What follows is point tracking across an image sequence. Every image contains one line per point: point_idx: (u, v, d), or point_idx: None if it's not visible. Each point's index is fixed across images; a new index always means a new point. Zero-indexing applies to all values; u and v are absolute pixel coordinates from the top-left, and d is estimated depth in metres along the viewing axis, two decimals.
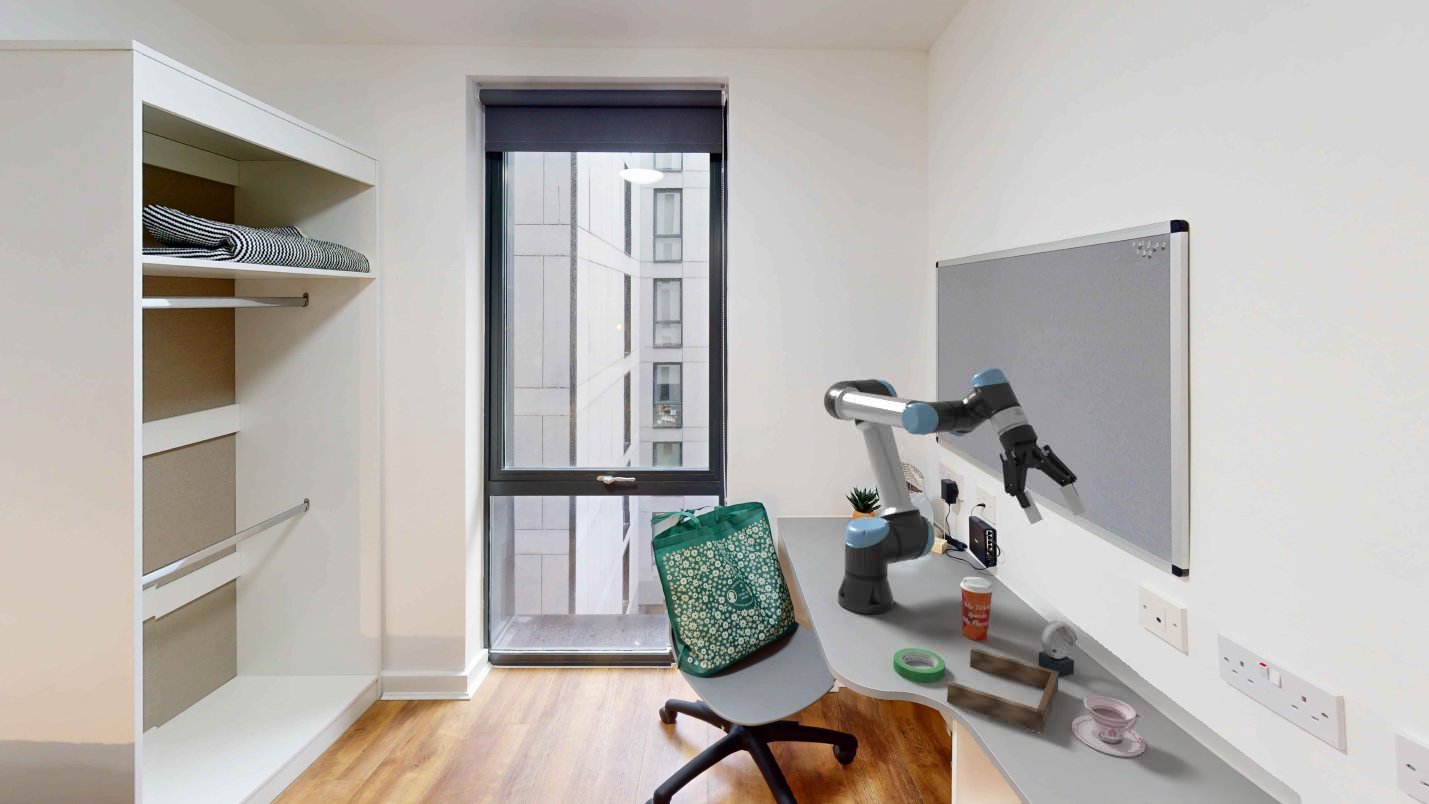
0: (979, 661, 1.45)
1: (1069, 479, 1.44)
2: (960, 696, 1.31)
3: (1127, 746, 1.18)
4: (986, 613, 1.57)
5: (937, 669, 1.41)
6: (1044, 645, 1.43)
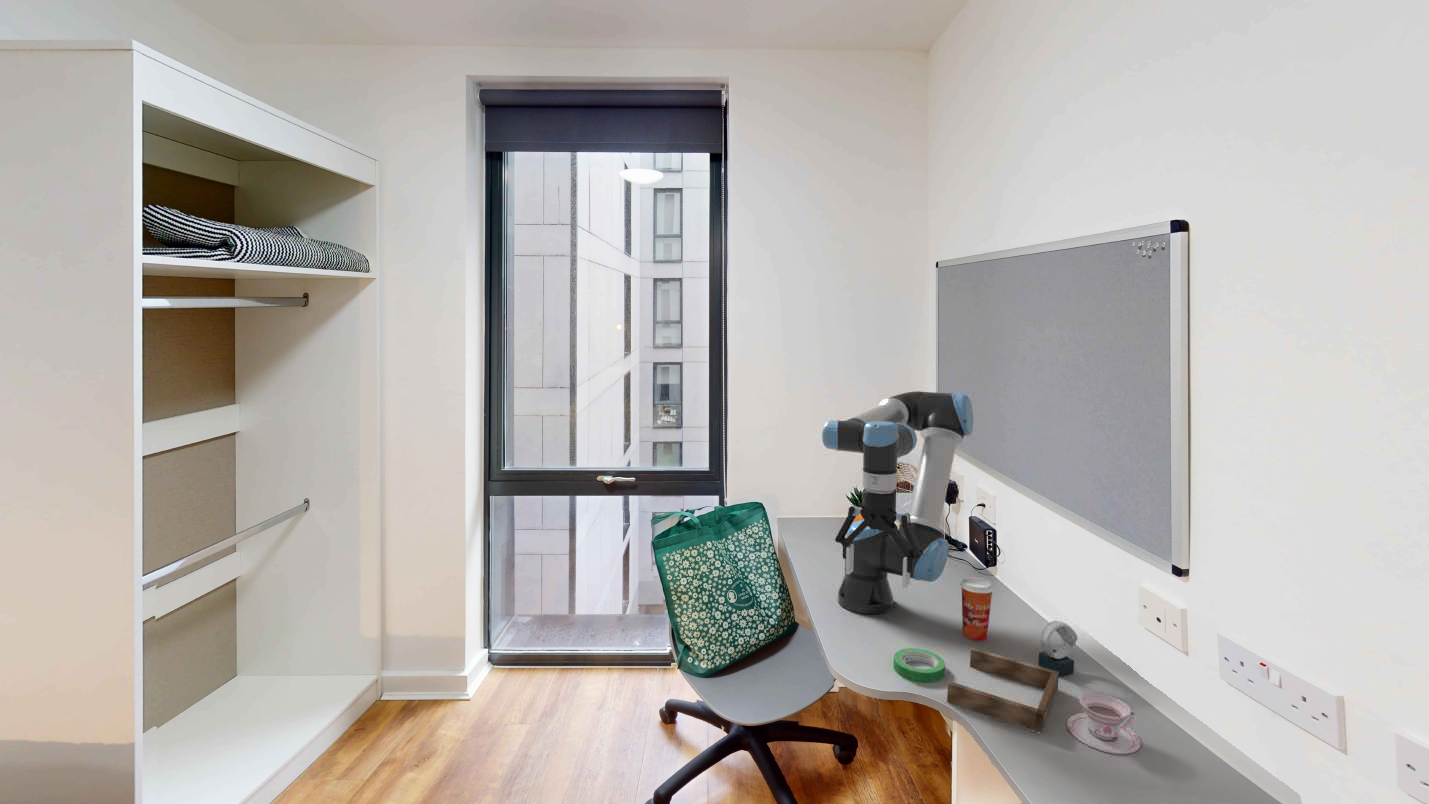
0: (979, 661, 1.45)
1: (908, 555, 1.43)
2: (960, 696, 1.31)
3: (1122, 743, 1.19)
4: (986, 613, 1.57)
5: (937, 669, 1.41)
6: (1044, 645, 1.43)
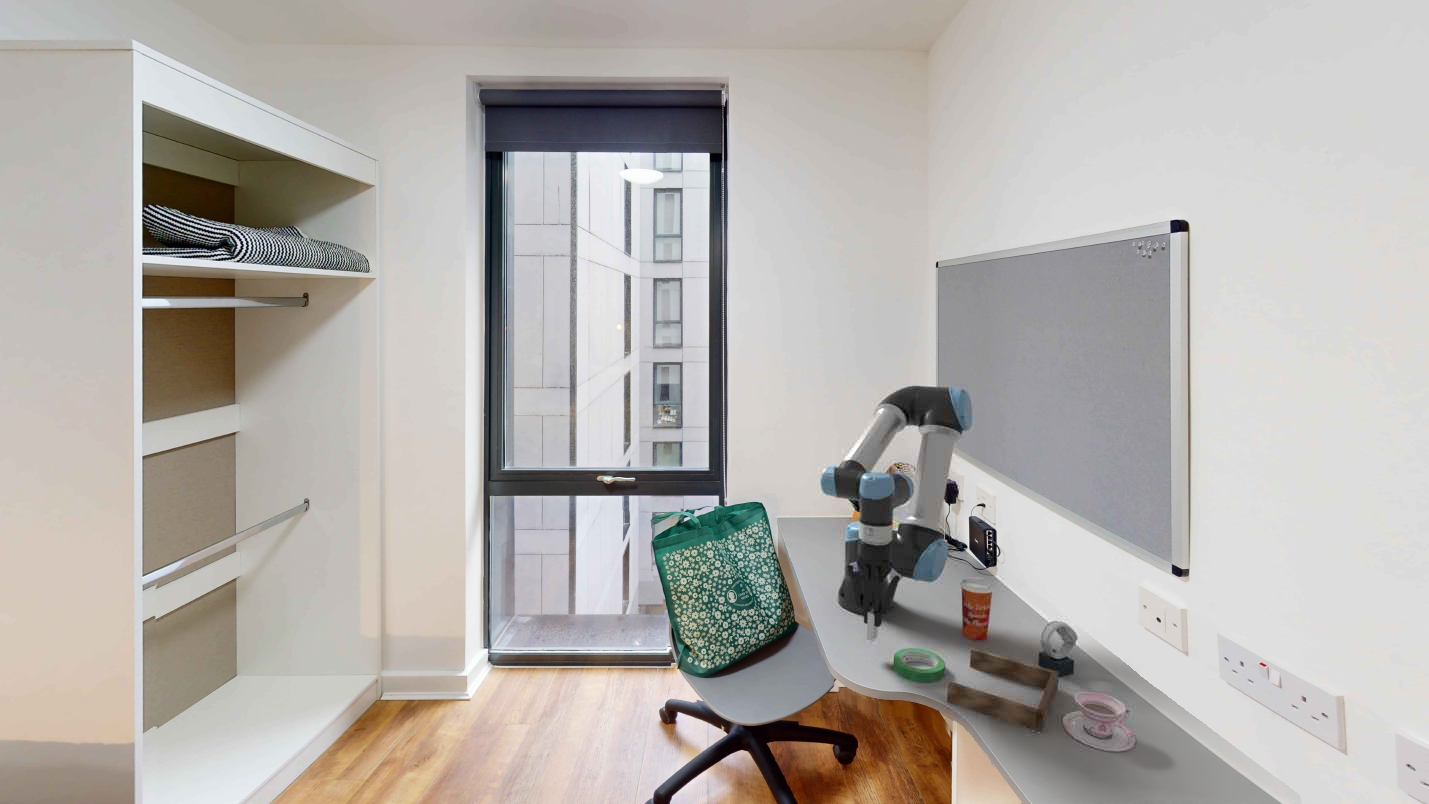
0: (979, 661, 1.45)
1: (876, 609, 1.48)
2: (960, 696, 1.31)
3: (1117, 740, 1.20)
4: (986, 613, 1.57)
5: (937, 669, 1.41)
6: (1044, 645, 1.43)
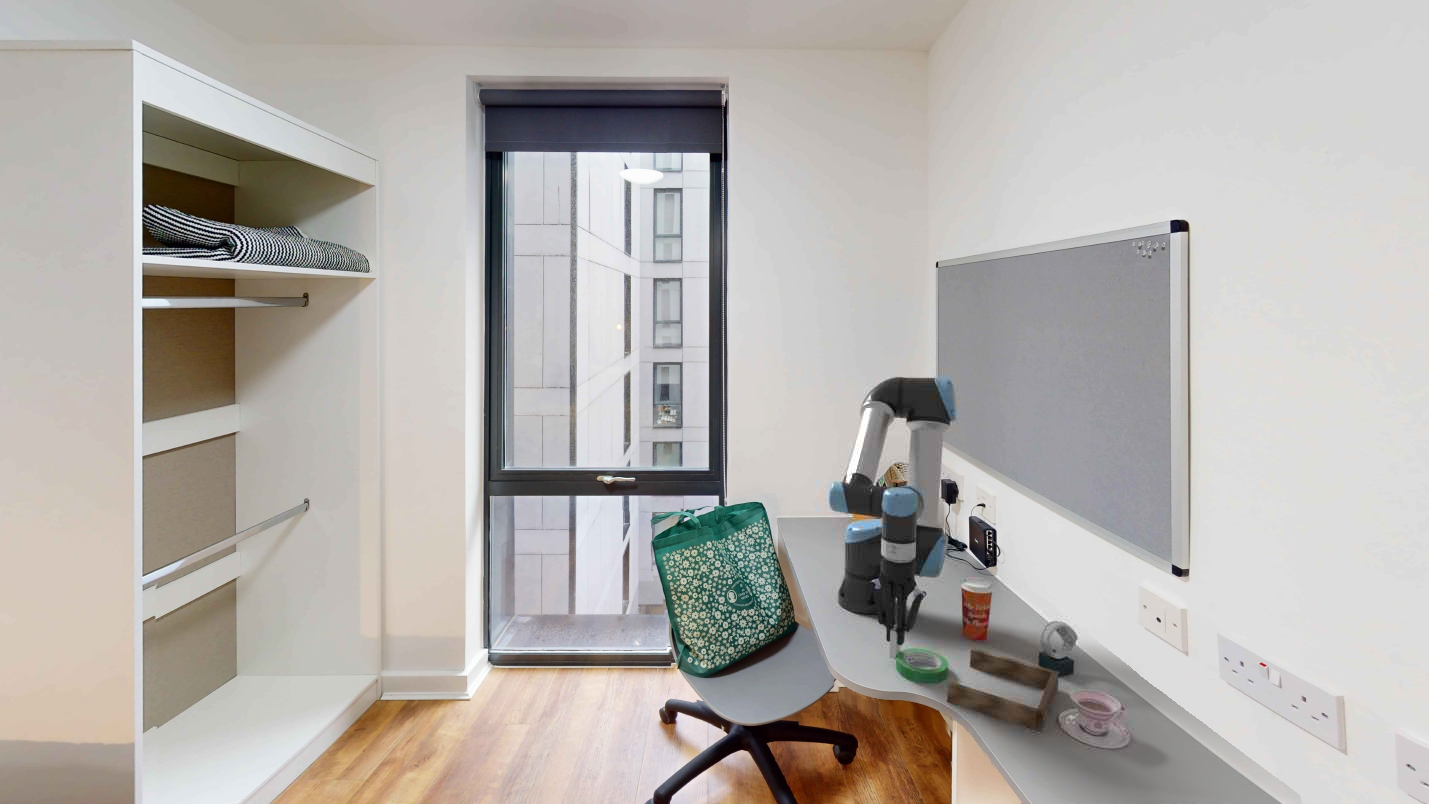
0: (979, 661, 1.45)
1: (899, 628, 1.45)
2: (960, 696, 1.31)
3: (1112, 738, 1.21)
4: (986, 613, 1.57)
5: (940, 669, 1.40)
6: (1044, 645, 1.43)
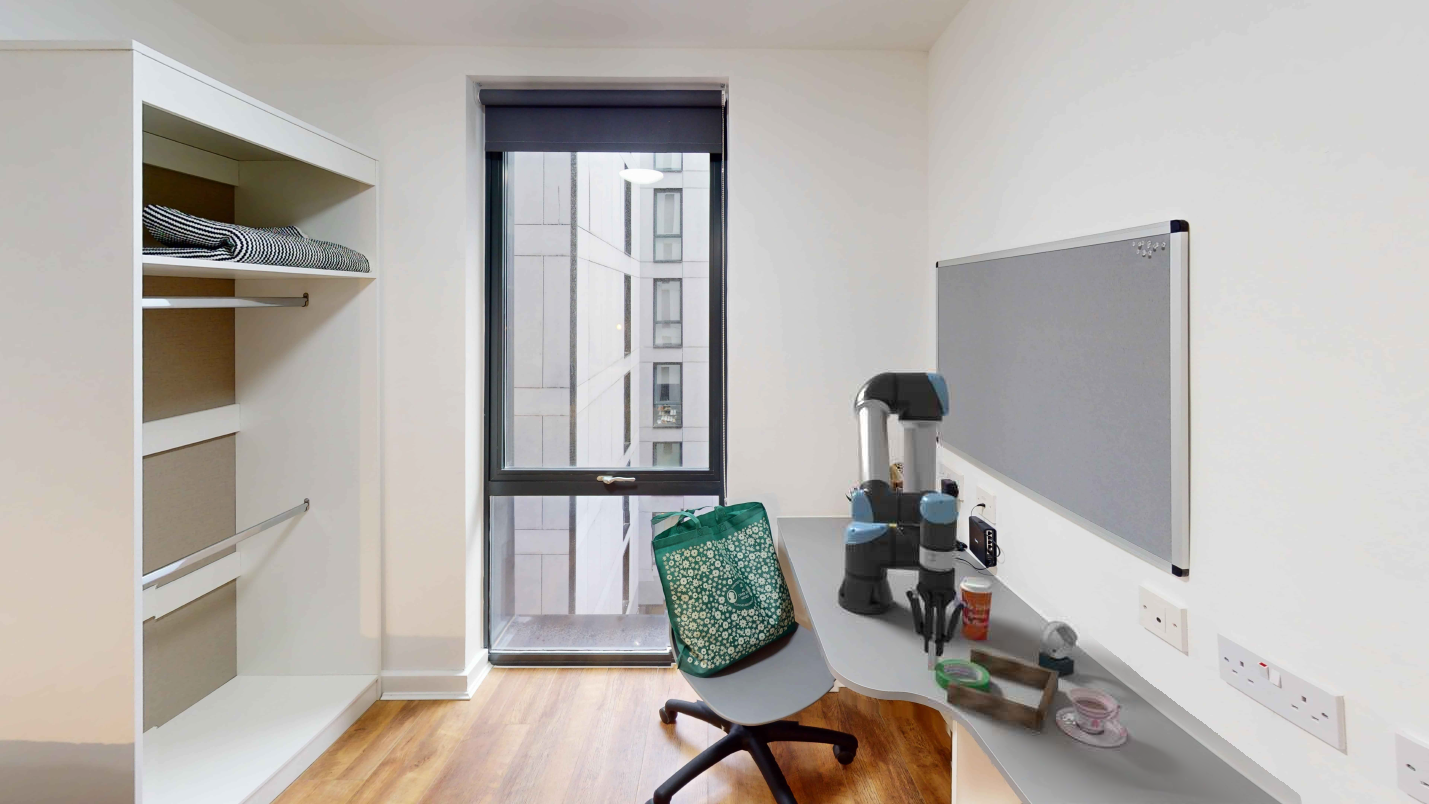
0: (979, 661, 1.45)
1: (938, 638, 1.40)
2: (960, 696, 1.31)
3: (1109, 736, 1.21)
4: (986, 613, 1.57)
5: (983, 681, 1.36)
6: (1044, 645, 1.43)
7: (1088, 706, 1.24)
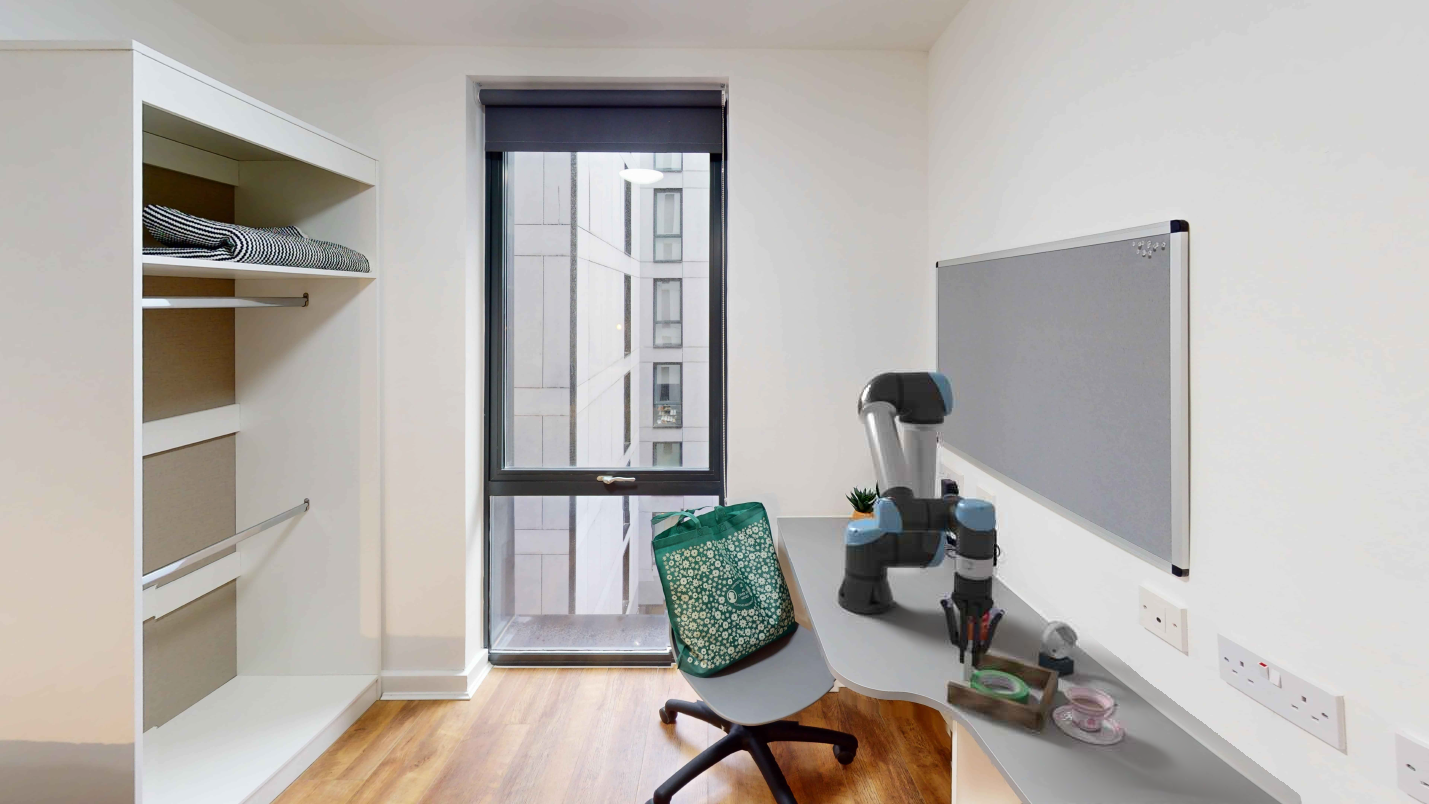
0: (979, 661, 1.45)
1: (974, 649, 1.36)
2: (960, 696, 1.31)
3: (1106, 734, 1.22)
4: (986, 613, 1.57)
5: (1023, 693, 1.31)
6: (1044, 645, 1.43)
7: (1085, 704, 1.25)
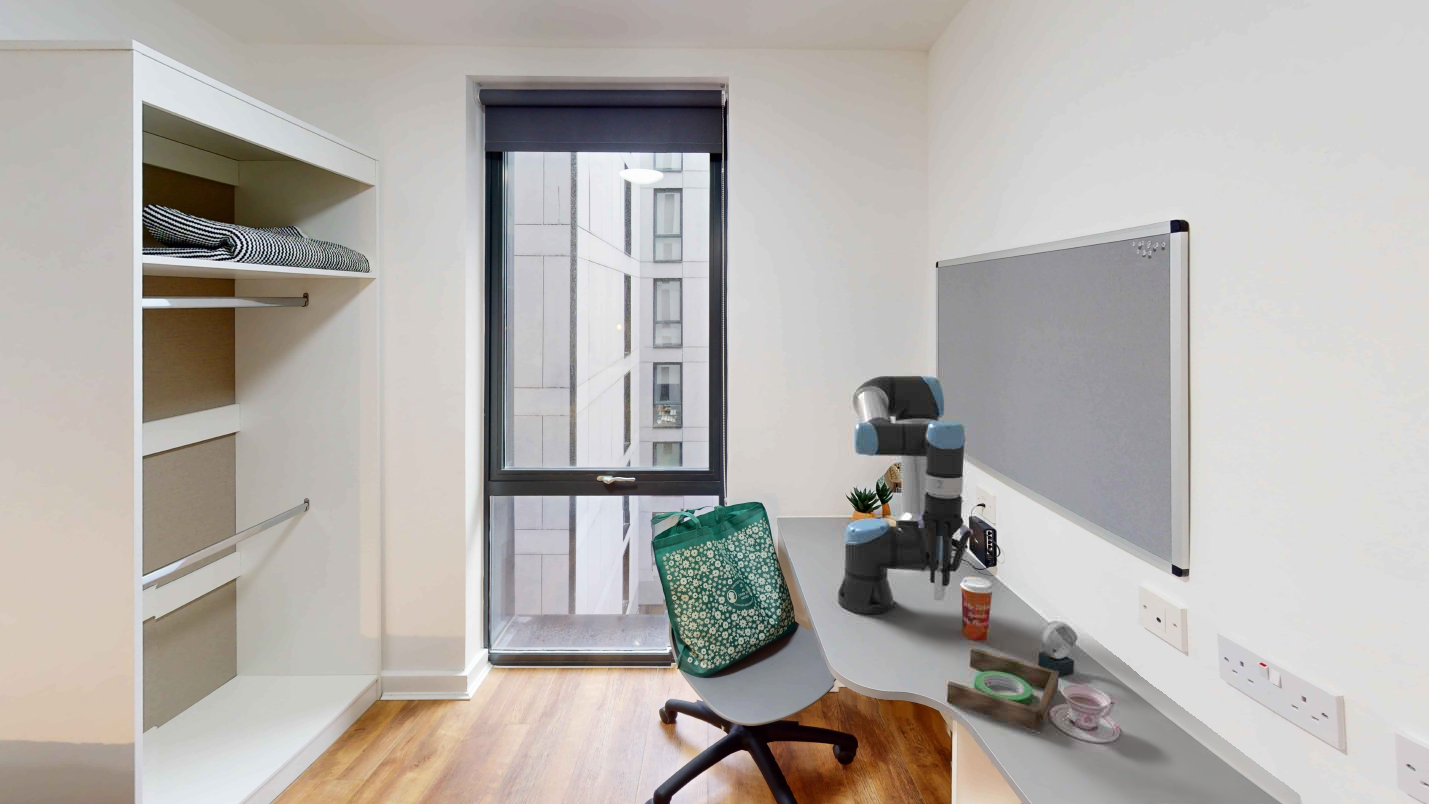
0: (979, 661, 1.45)
1: (944, 567, 1.38)
2: (960, 696, 1.31)
3: (1102, 732, 1.22)
4: (986, 613, 1.57)
5: (1027, 694, 1.31)
6: (1044, 645, 1.43)
7: (1082, 702, 1.25)
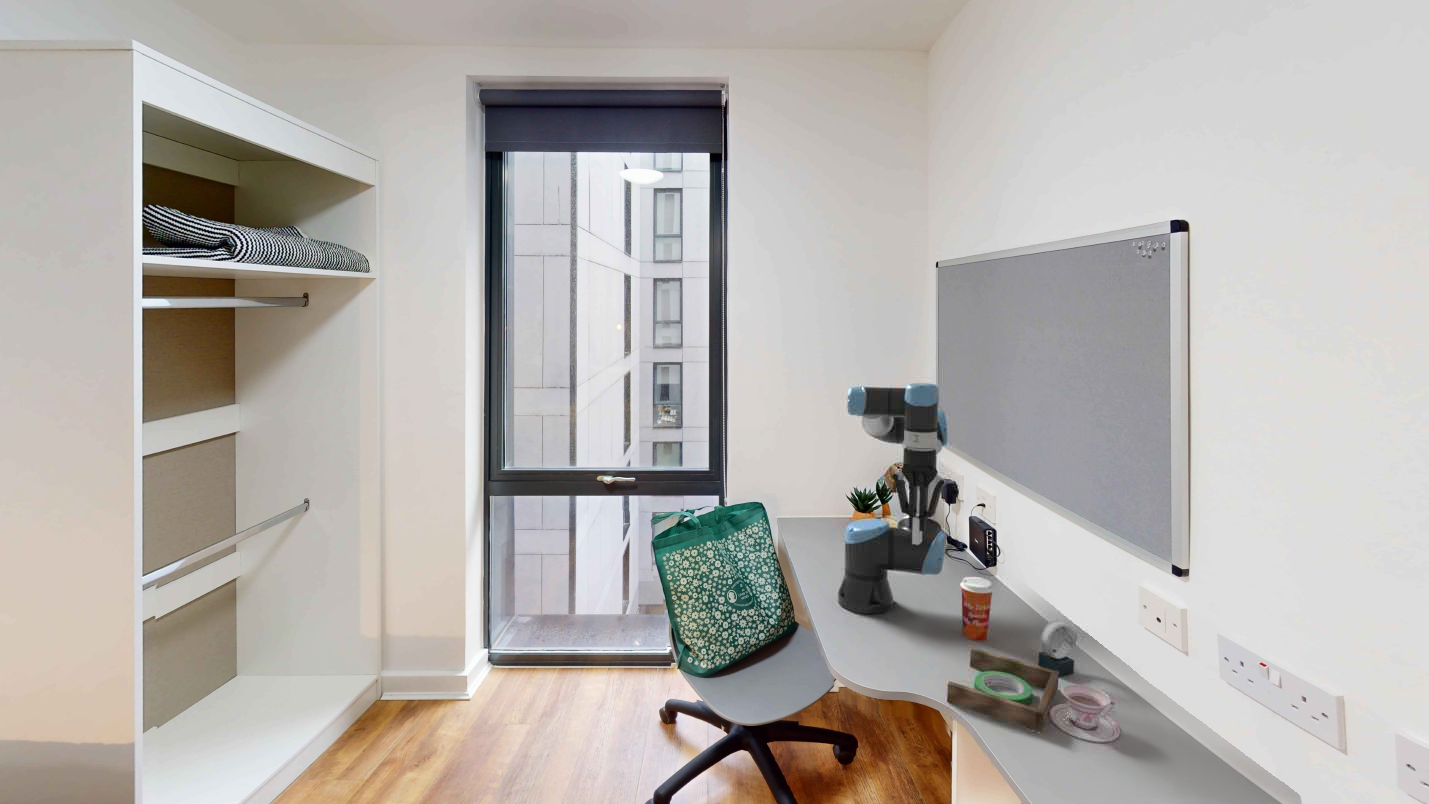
0: (979, 661, 1.45)
1: (921, 514, 1.54)
2: (960, 696, 1.31)
3: (1102, 732, 1.22)
4: (986, 613, 1.57)
5: (1027, 694, 1.31)
6: (1044, 645, 1.43)
7: (1082, 702, 1.25)
